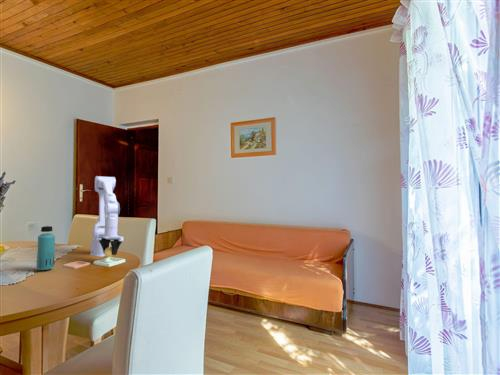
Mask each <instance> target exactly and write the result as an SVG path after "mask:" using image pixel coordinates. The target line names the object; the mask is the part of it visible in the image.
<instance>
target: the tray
mask: <svg viewBox="0 0 500 375" xmlns="http://www.w3.org/2000/svg"><path fill="white" fill-rule="evenodd" d="M123 263H126V259H125V258H119V257H114V256H112V257H105V258H104V257H103V258H102V259H98V260H94V261H93V265H97V266H101V267H102V266H103V267H108V268H110V267H113V266H116V265H120V264H123Z"/></svg>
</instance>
